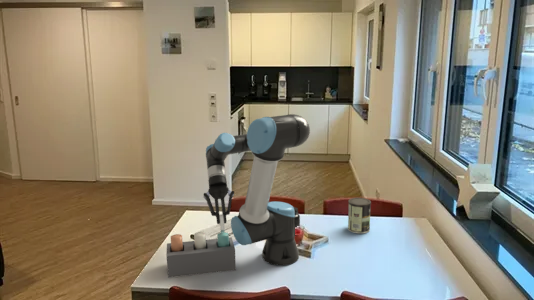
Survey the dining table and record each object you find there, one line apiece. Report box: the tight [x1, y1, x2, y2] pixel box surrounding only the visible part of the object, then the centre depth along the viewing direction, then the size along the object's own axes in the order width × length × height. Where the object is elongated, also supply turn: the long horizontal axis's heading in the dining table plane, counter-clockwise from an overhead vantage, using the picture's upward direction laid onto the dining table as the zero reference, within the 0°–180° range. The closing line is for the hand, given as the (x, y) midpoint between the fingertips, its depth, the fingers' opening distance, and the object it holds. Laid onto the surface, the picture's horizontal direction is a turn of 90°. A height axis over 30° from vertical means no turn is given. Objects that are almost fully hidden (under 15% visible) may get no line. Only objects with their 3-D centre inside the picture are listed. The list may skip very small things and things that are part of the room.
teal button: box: [216, 231, 230, 248], centre depth 178 cm, size 4×4×6 cm
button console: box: [165, 237, 237, 278], centre depth 178 cm, size 26×11×9 cm, turn 101°
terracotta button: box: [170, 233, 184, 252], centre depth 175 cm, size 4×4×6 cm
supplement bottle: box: [293, 206, 301, 227], centre depth 208 cm, size 7×7×12 cm
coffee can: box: [347, 197, 372, 234], centre depth 211 cm, size 10×10×14 cm
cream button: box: [193, 231, 207, 250], centre depth 176 cm, size 4×4×6 cm
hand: (222, 230), depth 178 cm, fingers closed
